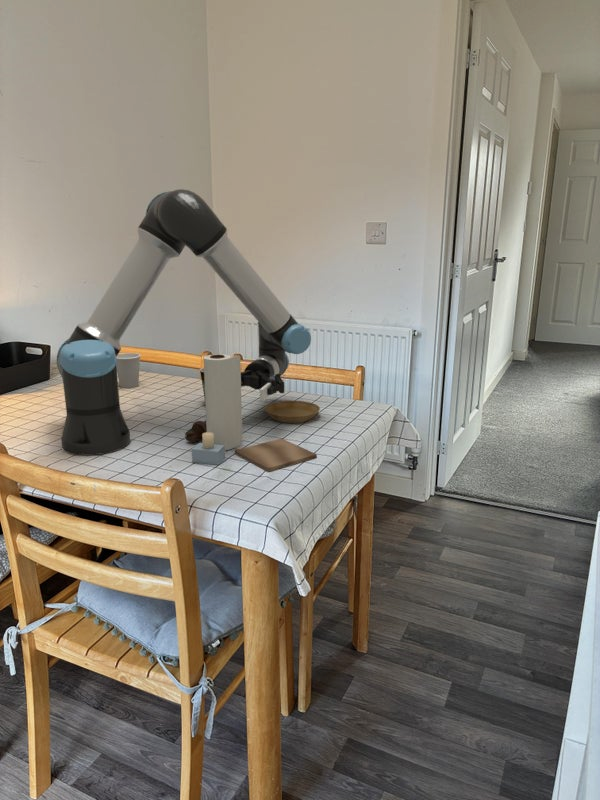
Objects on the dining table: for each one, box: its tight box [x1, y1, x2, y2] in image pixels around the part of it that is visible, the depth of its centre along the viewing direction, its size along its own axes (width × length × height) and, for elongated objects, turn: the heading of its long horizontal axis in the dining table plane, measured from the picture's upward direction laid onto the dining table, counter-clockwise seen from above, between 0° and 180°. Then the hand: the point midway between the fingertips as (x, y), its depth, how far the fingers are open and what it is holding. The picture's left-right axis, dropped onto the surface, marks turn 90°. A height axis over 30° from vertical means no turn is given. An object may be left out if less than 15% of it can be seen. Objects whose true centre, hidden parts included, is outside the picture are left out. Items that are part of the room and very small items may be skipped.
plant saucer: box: [264, 400, 321, 424], centre depth 157 cm, size 15×15×3 cm
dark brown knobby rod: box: [184, 420, 207, 443], centre depth 142 cm, size 6×5×15 cm
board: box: [234, 438, 318, 473], centre depth 130 cm, size 13×13×1 cm
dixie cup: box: [116, 352, 141, 389], centre depth 186 cm, size 8×8×10 cm
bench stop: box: [191, 432, 226, 466], centre depth 126 cm, size 4×6×6 cm, turn 75°
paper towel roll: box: [203, 353, 243, 451], centre depth 132 cm, size 7×6×21 cm
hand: (233, 393), depth 137 cm, fingers open, 13 cm apart
